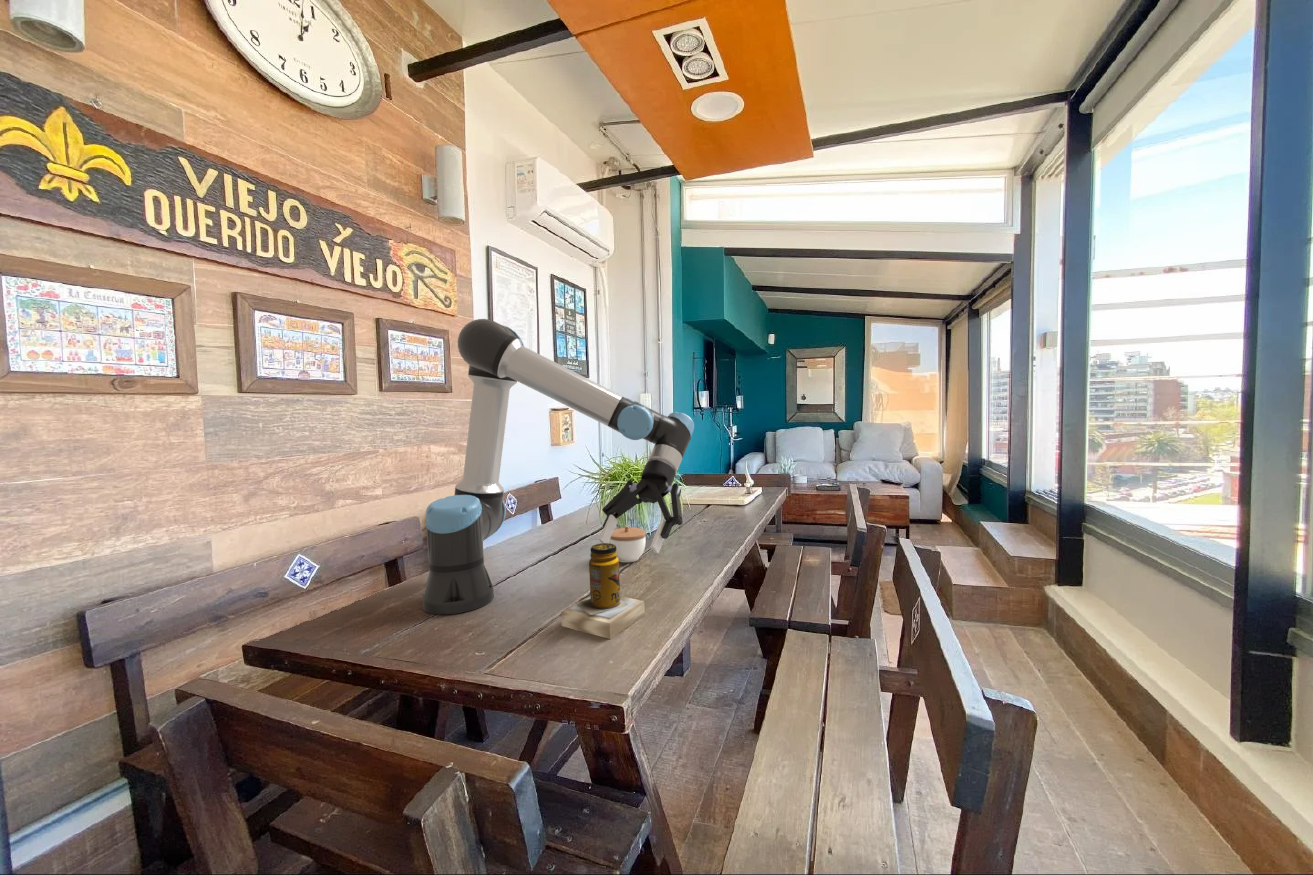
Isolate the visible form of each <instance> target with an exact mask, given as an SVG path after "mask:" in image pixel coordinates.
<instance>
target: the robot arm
mask: <svg viewBox="0 0 1313 875" xmlns="http://www.w3.org/2000/svg"><path fill="white" fill-rule="evenodd" d="M457 349H458V352H459V354H460V357H461V358H462V360H463V361H464V362H465V363H466V364H468V375H467V376H468V378H469V379H470V380H471V382H472V383H473V388H472V389H473V390H472V396H471V406H470V414H469V422H468V423H469V424H468V431H467V432H468V433H467V440H466V447H465V448H466V449H465V458H464V466H463V473H462V474H463V475H462V479H461V480H460V481H459V482H457V484H455V485H454V495H450V496H445V497H443V498H439V499H436V500H434V501H432V502H431V503H430V504H428V506H427V508H426V510H425V520H424V522H425V530H426V543H427V555H428V572H429V573H428V576H427V580H426V584H425V588H424V591H423V594H422V609H423V610H424V611H425V612H426V613H429V614H433V615H454V614H461V613H465V612H466V613H467V612H469V611H474V610H476V609H480V608H482V607H484V606H486V605H488V604H489V603H491V601H492V600H493V599H494V597H495V593H494V585H493V583H492V581H491V577H490V575H489V573H488V571H487V568H486V566H485V559H484V558H485V557H484V541H485V540H487V539H488V538H490V537H492V536H493V535H494V534H495V533H496V532H497V531H498V530H499V529H500V528H501V527H502V525H503V523H504V521H505V519H506V514H507V513H506V512H507V510H506V509H507V508H506V504H505V501H504V500H503V499H504V491H505V489H504V487H503V486H502V484H500V482H499V481H500V480H499V479H500V473H501V465H502V456H503V448H504V441H505V433H506V424H507V414H508V408H509V397H510V390H511V388H513V386H515V385H516V384H517V383H520V384H521V385H524V386H527V387H528V388H531V389H532V390H534V391H536V392H538V393H540V394H543V395H545V396H546V397H548V398H549V399H550V398H551V399H553V400H555V401H556V402H558V403H560V404H562V405H564V406H566V407H569V408H570V409H573V410H574V411H577V412H578V413H581V414H583V415H585V416H587V417H588V418H591V419H593V420H595V421H596V422H599V423H601V424H603V425H605V426H606V427H608V428H610V429H612V430H614V431H616V432H618V433H620V434H622V436H623V437H625V438H626V439H629V440H631V441H638V440H645V441H647V442H648V443H652V444H654V446H653V448H652V451H651V453H650V455H649V456H648V459H647V461H646V464H645V465H644V468H643V470H642V472H641V475H640V476H641V477H640V480H639V482H637V483H635V482H633V481H632V480H631V479H629V480H627V481H626V483H625V485H624V486H623V488H621V490H620V491H619V492H618V493H617V494H615V495H614V496H613V498H612V499H611V500H609V502H607V504H606V505H605V506H604V507H603V508H602V512H603V514H604V515H605V516H606V517H605V520H604V522H603V524H602V530H601V533H600V535H599V538H598V541H599V542H600V544H601V543H609V540H610V538H611V536H612V533H613V531H614V529H616V527H617V524H618V523H619V521H618V520H617V519H619V517H621V516H622V515H624V514H625V513H626V512H629V511H630V510H631V509H632V508H634V507H635V506H636V505H640V504H642V503H644V504H646V503H647V504H648V503H651V504H656V503H658V506H659V508H660V512H661V513H662V515H663V519H664V520H663V519H661V520H660V522H659V525H658V527H657V529H656V532H655V534H654V537H653V540H652V542H651V544H650V548H651V550H652V551H653V552H654V553H655V554H658V555H659V553H660V551H661V548H662V546H663V543H664V541H665V540H667V539H668V538H669V536H670V534H671V531H672V528H673V527H674V526H677V525H678V526H682V524H684V523H683V514H682V506H681V499H680V498H681V493H682V490H681V488H680V486H679V485H678V483H677V482H675V483H674V480H675V479H676V474H677V473H678V470H679V469H680V465H681V463H682V461H683V458H684V456H685V453H686V451H687V449H688V446H689V444H690V442H691V439H692V436H693V433H694V430H695V422H694V421H693V419H692V418H691V417H690V416H689V415H687V414H686V413H684V412H678V411H673V412H671V413H669V414H668V416H667V415H664V414H662V413H660V412H657V411H656V410H654V409H651V408H649V407H647V406H646V405H644V404H641V403H640V402H638V401H636V400H632V399H630V398H627V397H624V396H623V395H621V394H619V393H618V392H615V391H613V390H611V389H609V388H607V387H605V386H603V385H601V384H599V383H597V382H595V381H593V380H592V379H589V378H587V377H585V376H583V375H581V374H580V373H578V372H575V371H573V370H571V369H569V368H568V367H566V366H563V365H561V364H559V363H558V362H555V361H554V360H552V359H550V358H548V357H546V356H544V355H541V354H539V353H538V352H535V351H533V350H532V349H529V348H527V347H526V346H525V344H524V342H523V340H522V338H521V337H520V335H518V334H517V332H516V331H515V330H513V329H512V328H510V327H508V326H505V325H502V324H499V323H498V322H496V321H494V320H491V319H487V318H478V319H474V320H471V321H470V322H468V323H467V324H465V325H464V327H463V328H462V329H461V330H460V332H459V334H458V337H457ZM669 494H670V499H671V500H670V501H671V507H672V509H671V510H672V515H671V513H670V510H669V508H668V505H667V503H666V500H665V498H664V497H666V496H667V495H669ZM637 496H638V497H637Z"/></svg>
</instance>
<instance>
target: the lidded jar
mask: <svg viewBox="0 0 1313 875" xmlns="http://www.w3.org/2000/svg"><path fill="white" fill-rule="evenodd" d="M646 535H647V531H646V530H644V529H643V528H639V527H629V526H628V525H624V527H620V528H615V529H614V531H613V533H612V536H611V538H610V540H609V542H608V543H611V544H614V545H615V546H616V548H617V549H616V550H617V551H616V553H617V557H618V559H619V563H626V564H627V563H633V562H637V561H639V558H640V557H641V556H642V555H643V554H644V552H645V548H646V543H647V542H646Z"/></svg>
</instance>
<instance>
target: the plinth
mask: <svg viewBox="0 0 1313 875" xmlns="http://www.w3.org/2000/svg"><path fill="white" fill-rule="evenodd" d="M588 599H591V598H590V595H589V596H587V597H585V598H584V599H581V601H585V600H588ZM620 600H622V601H624V602H626V603H627V604H628V605H626V606H622V607H619V608H615V609H612V610H607V611H604V612H599V613H596V614H593V615H590V614H589V613H587V612H586V611H584V610H583V609H581V608H580V607H579V606H578V605H577V604H575V603H574V604H573V605H571V606H569V607H567V608H564V610H561V611H560V612H561V613H560V614H561V627H562V628H568V629H572V630H575V631H578V632H582V633H586V634H589V635H590V634H591V635H593V636H598V637H601V638H605V639H609V640H611V639H613V638H614V637H615V636H617V635H619V634H620V633H621V632H623V631H624V630H626V629H627V628H629V627H630V626H631V625H634V624H635V623H636V622H638V621H639V620H641V619H642V618H644V616H646V608H645V606H646V605H645V601H644V600H641V599H640V600H639V599H635V598H630V597H627V596H622V595H620Z"/></svg>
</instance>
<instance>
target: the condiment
mask: <svg viewBox="0 0 1313 875" xmlns="http://www.w3.org/2000/svg"><path fill="white" fill-rule="evenodd" d="M616 549H617V548H616V546H615V545H614V544H611V543H609V542H608V543H601V542H600V543H596V544H594V545H591V547H590V559H589V561H588V566H589V567H588V568H589V569H588V570H589V573H588V574H589V591H590V592H589V593H590V595H589V596H590V598H591V599H588V600H585V601H582V600H579V601H576V602H574V604H577V605H578V606H579V607H580V608H581V609H583V610H584V611H586V612H587V613H589V614H590V615H593V614H596V613H599V612H604V611H607V610H612V609H615V608H619V607H622V606H626V605H628V604H627V603H626V602H624V601H622V600H620V596H621V588H620V587H621V583H620V562H619V559H618V557H617V553H616V551H617V550H616Z"/></svg>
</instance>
